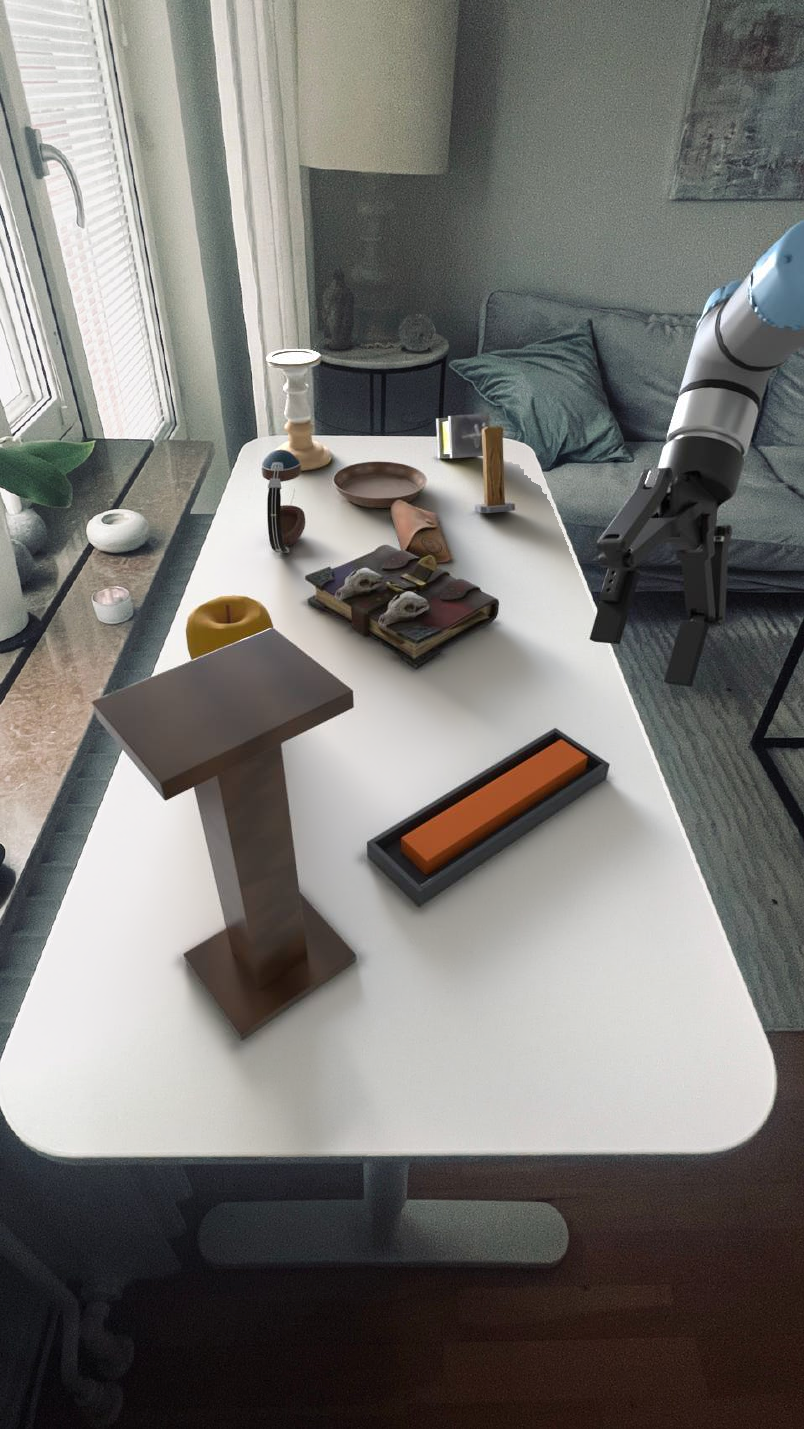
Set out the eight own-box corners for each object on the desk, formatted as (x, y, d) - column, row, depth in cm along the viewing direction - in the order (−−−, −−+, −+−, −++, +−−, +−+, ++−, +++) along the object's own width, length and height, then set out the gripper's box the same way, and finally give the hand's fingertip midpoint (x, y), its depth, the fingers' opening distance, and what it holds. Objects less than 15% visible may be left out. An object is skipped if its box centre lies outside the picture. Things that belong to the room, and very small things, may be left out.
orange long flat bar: (558, 752, 93) (561, 738, 91) (585, 771, 90) (588, 756, 89) (400, 852, 81) (401, 837, 79) (426, 875, 78) (426, 861, 77)
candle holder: (287, 445, 169) (277, 345, 156) (340, 452, 166) (335, 350, 153) (261, 467, 160) (249, 362, 147) (318, 474, 157) (310, 368, 144)
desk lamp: (440, 504, 167) (478, 513, 139) (436, 418, 162) (475, 410, 133) (475, 501, 168) (520, 510, 140) (472, 416, 163) (518, 407, 135)
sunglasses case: (455, 559, 129) (435, 528, 125) (418, 581, 130) (398, 551, 126) (436, 512, 143) (417, 483, 139) (403, 533, 144) (384, 504, 140)
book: (503, 624, 115) (507, 579, 110) (413, 673, 106) (414, 627, 101) (383, 559, 130) (382, 517, 125) (295, 596, 121) (291, 553, 116)
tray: (552, 741, 95) (555, 727, 93) (606, 778, 90) (610, 763, 89) (367, 856, 81) (366, 841, 80) (418, 907, 76) (419, 892, 75)
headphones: (278, 503, 144) (260, 573, 128) (269, 423, 133) (248, 489, 118) (312, 504, 144) (298, 574, 128) (306, 424, 133) (289, 490, 118)
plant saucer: (402, 469, 159) (402, 454, 157) (442, 503, 147) (443, 487, 145) (319, 484, 153) (318, 469, 152) (355, 520, 141) (354, 504, 139)
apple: (268, 721, 98) (256, 634, 90) (184, 713, 99) (165, 627, 91) (290, 669, 106) (281, 585, 98) (212, 663, 107) (197, 579, 99)
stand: (303, 887, 78) (272, 626, 59) (365, 954, 72) (353, 690, 53) (174, 966, 71) (91, 700, 52) (230, 1048, 65) (160, 783, 46)
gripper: (723, 508, 86) (670, 694, 85) (600, 388, 69) (532, 617, 68) (793, 505, 80) (738, 704, 79) (677, 374, 64) (605, 623, 63)
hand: (643, 664), depth 74 cm, fingers open, 13 cm apart
